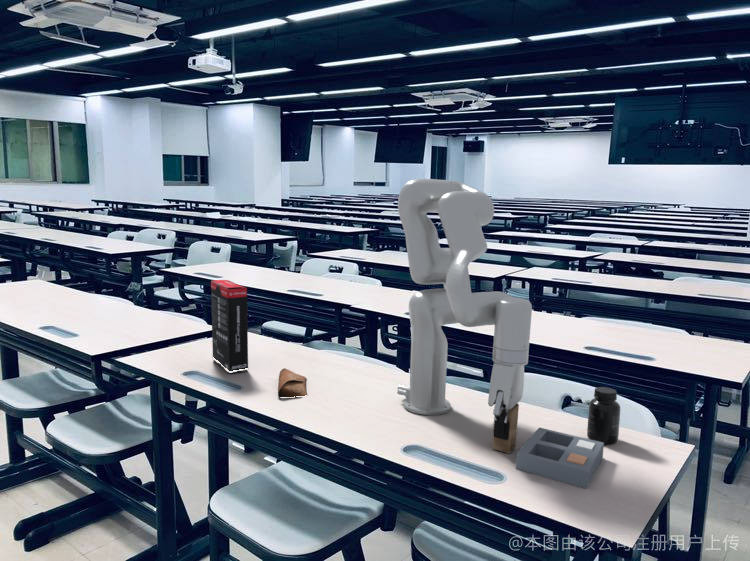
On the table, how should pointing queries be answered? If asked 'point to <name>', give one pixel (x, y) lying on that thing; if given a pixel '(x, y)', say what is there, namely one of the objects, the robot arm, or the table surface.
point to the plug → (511, 442)
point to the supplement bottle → (604, 416)
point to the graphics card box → (229, 324)
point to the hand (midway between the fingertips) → (504, 433)
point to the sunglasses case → (291, 384)
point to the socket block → (560, 457)
